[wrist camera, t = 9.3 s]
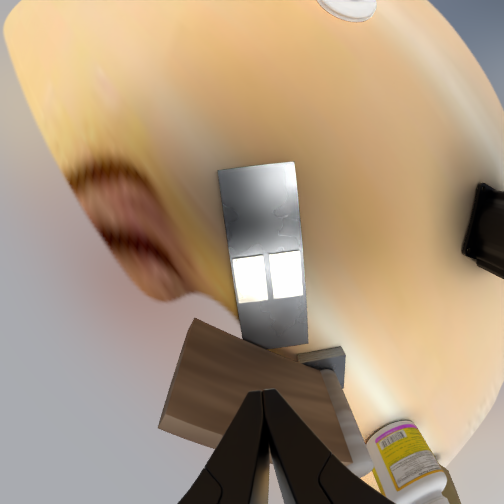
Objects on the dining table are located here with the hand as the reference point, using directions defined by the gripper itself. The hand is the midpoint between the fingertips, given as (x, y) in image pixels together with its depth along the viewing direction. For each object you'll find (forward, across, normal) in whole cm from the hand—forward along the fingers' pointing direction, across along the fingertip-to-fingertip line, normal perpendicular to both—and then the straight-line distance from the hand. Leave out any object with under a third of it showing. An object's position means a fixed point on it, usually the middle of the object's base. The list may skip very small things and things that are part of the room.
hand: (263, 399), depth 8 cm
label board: (+12, -3, +2) cm, 13 cm away
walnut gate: (+11, 0, +6) cm, 12 cm away
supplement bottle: (+12, -13, +22) cm, 29 cm away
